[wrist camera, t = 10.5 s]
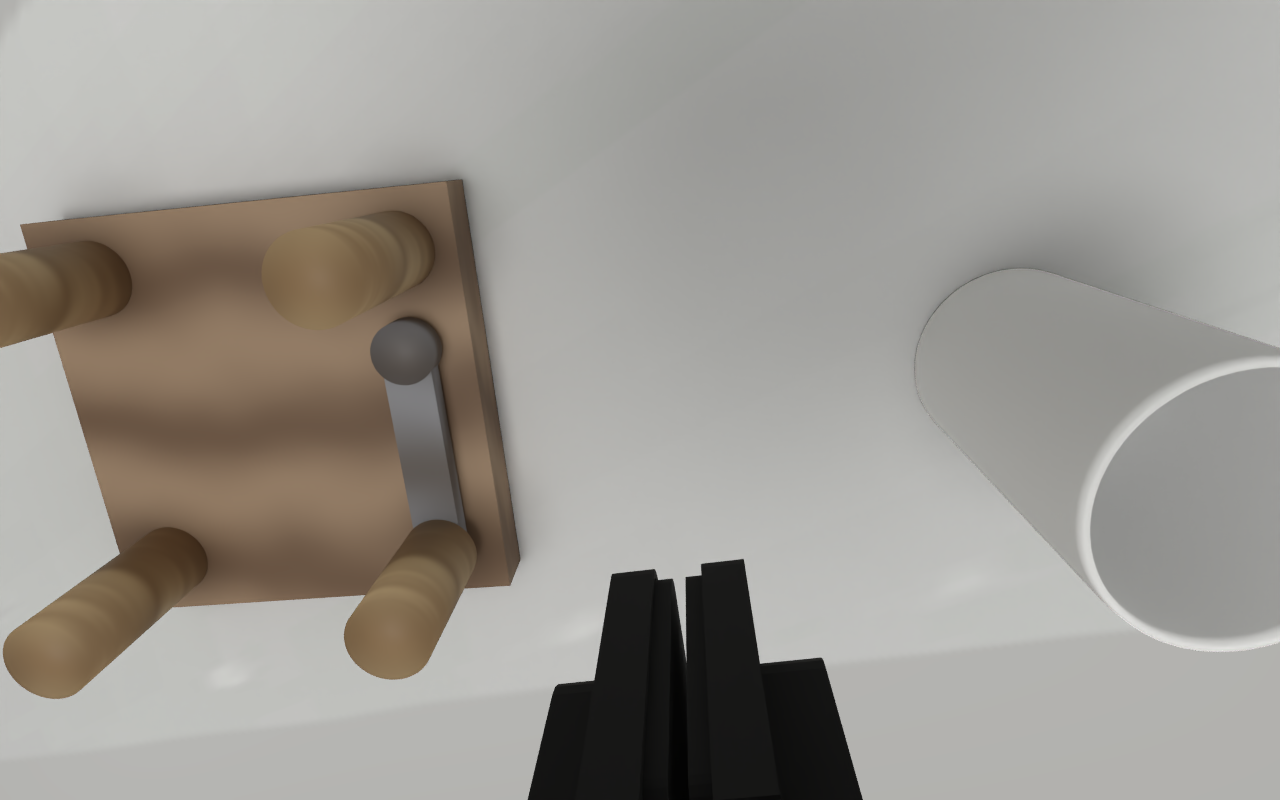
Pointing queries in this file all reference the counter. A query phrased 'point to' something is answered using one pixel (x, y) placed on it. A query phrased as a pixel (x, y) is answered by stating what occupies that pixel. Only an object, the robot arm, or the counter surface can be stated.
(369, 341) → the stool seat
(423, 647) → the hinged leg
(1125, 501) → the cup
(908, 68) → the counter surface
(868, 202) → the counter surface
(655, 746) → the robot arm
